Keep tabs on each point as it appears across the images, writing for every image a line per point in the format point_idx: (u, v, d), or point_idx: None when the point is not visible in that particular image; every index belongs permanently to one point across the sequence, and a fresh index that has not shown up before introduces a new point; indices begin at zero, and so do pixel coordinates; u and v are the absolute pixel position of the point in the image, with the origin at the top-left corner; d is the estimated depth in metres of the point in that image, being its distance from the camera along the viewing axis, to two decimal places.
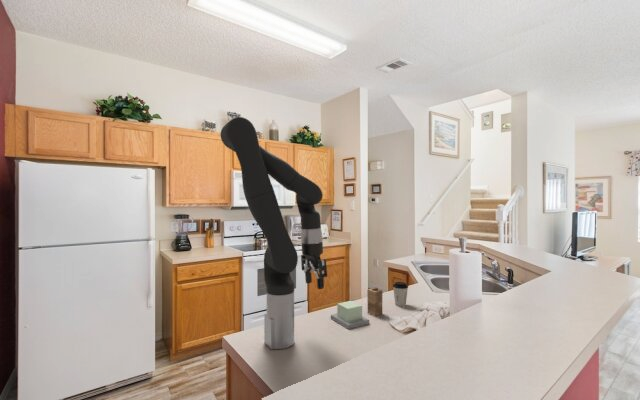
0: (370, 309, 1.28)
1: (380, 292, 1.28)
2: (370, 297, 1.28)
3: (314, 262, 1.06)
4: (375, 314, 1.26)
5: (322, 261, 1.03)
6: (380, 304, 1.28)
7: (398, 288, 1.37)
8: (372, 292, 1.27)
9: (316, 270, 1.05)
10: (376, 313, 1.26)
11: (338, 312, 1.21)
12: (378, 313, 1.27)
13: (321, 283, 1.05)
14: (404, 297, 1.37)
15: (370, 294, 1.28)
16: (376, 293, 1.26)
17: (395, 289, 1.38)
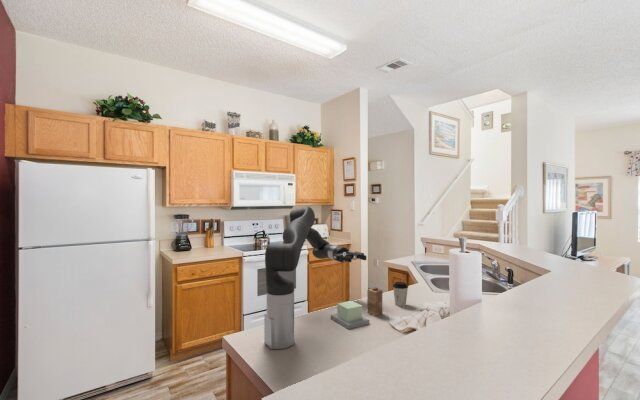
0: (370, 309, 1.28)
1: (380, 292, 1.28)
2: (370, 297, 1.28)
3: None
4: (375, 314, 1.26)
5: None
6: (380, 304, 1.28)
7: (398, 288, 1.37)
8: (372, 292, 1.27)
9: None
10: (376, 313, 1.26)
11: (338, 312, 1.21)
12: (378, 313, 1.27)
13: None
14: (404, 297, 1.37)
15: (370, 294, 1.28)
16: (376, 293, 1.26)
17: (395, 289, 1.38)
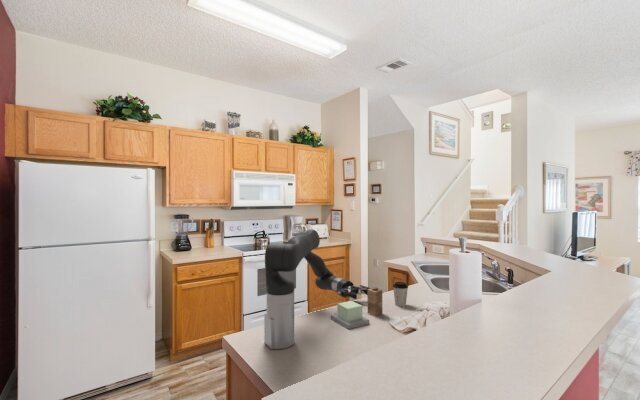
0: (370, 309, 1.28)
1: (380, 292, 1.28)
2: (370, 297, 1.28)
3: None
4: (375, 314, 1.26)
5: None
6: (380, 304, 1.28)
7: (398, 288, 1.37)
8: (372, 292, 1.27)
9: None
10: (376, 313, 1.26)
11: (338, 312, 1.21)
12: (378, 313, 1.27)
13: None
14: (404, 297, 1.37)
15: (370, 294, 1.28)
16: (376, 293, 1.26)
17: (395, 289, 1.38)
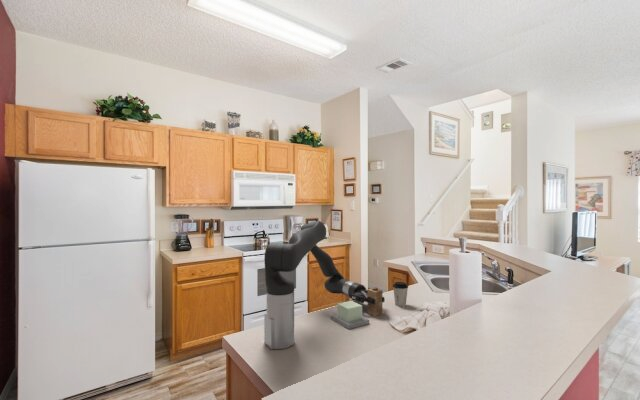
0: (370, 309, 1.28)
1: (380, 292, 1.28)
2: None
3: None
4: (375, 314, 1.26)
5: None
6: (380, 304, 1.28)
7: (398, 288, 1.37)
8: (372, 292, 1.27)
9: None
10: (376, 313, 1.26)
11: (338, 312, 1.21)
12: (378, 313, 1.27)
13: None
14: (404, 297, 1.37)
15: (370, 294, 1.28)
16: (376, 293, 1.26)
17: (395, 289, 1.38)
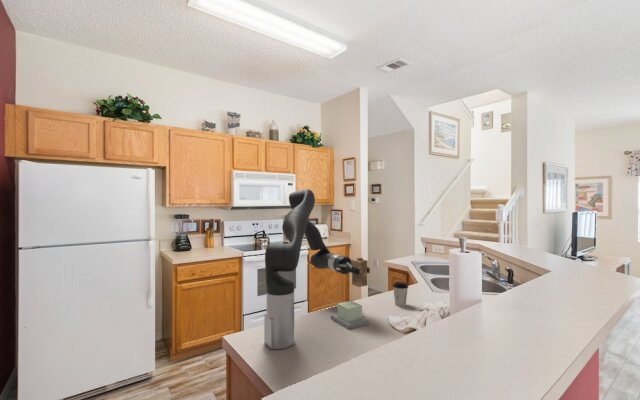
0: (354, 280, 1.22)
1: (365, 262, 1.22)
2: (355, 267, 1.22)
3: None
4: (359, 285, 1.21)
5: None
6: (365, 275, 1.22)
7: (398, 288, 1.37)
8: (356, 262, 1.21)
9: None
10: (361, 284, 1.21)
11: (338, 312, 1.21)
12: (363, 284, 1.21)
13: None
14: (404, 297, 1.37)
15: (354, 265, 1.23)
16: (361, 263, 1.21)
17: (395, 289, 1.38)
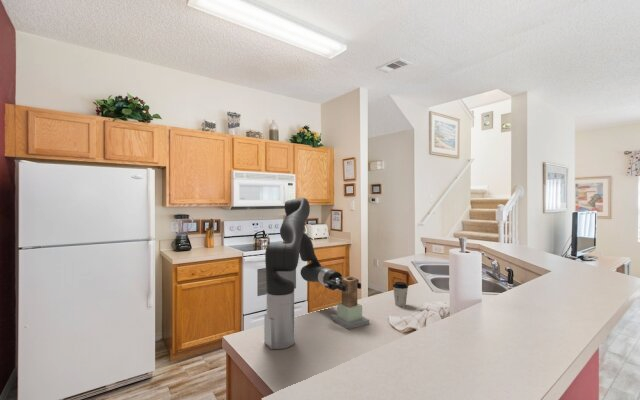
0: (344, 300, 1.20)
1: (355, 282, 1.20)
2: None
3: None
4: (349, 305, 1.18)
5: None
6: (355, 294, 1.20)
7: (398, 288, 1.37)
8: (346, 281, 1.19)
9: None
10: (350, 304, 1.18)
11: (338, 312, 1.21)
12: (352, 304, 1.19)
13: None
14: (404, 297, 1.37)
15: (344, 284, 1.20)
16: (350, 282, 1.18)
17: (395, 289, 1.38)
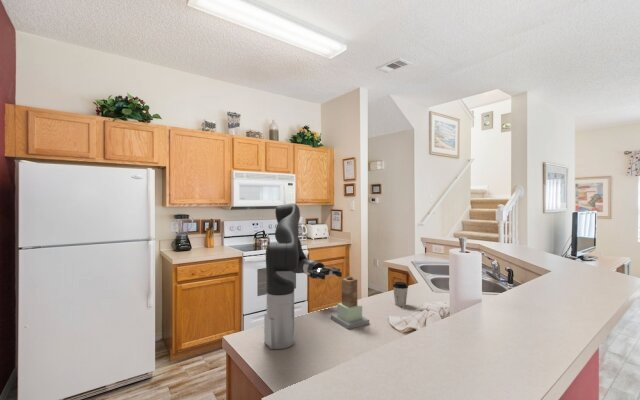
0: (344, 300, 1.20)
1: (355, 282, 1.20)
2: (344, 287, 1.20)
3: None
4: (349, 305, 1.18)
5: None
6: (355, 294, 1.20)
7: (398, 288, 1.37)
8: (346, 281, 1.19)
9: None
10: (350, 304, 1.18)
11: (338, 312, 1.21)
12: (352, 304, 1.19)
13: None
14: (404, 297, 1.37)
15: (344, 284, 1.20)
16: (350, 282, 1.18)
17: (395, 289, 1.38)
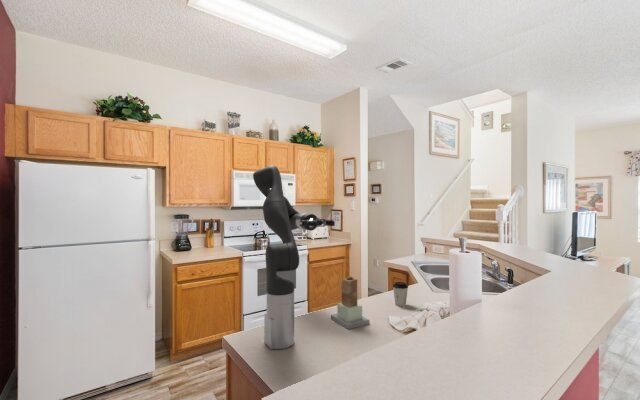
0: (344, 300, 1.20)
1: (355, 282, 1.20)
2: (344, 287, 1.20)
3: None
4: (349, 305, 1.18)
5: None
6: (355, 294, 1.20)
7: (398, 288, 1.37)
8: (346, 281, 1.19)
9: None
10: (350, 304, 1.18)
11: (338, 312, 1.21)
12: (352, 304, 1.19)
13: None
14: (404, 297, 1.37)
15: (344, 284, 1.20)
16: (350, 282, 1.18)
17: (395, 289, 1.38)
